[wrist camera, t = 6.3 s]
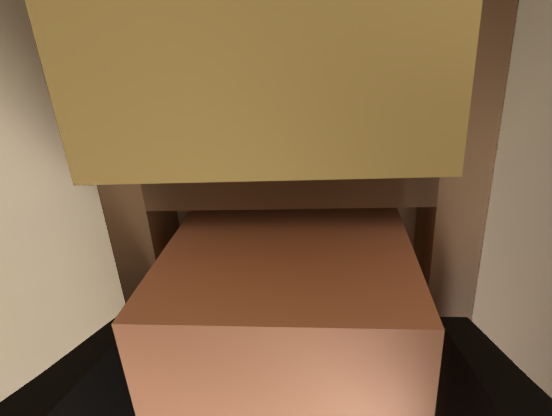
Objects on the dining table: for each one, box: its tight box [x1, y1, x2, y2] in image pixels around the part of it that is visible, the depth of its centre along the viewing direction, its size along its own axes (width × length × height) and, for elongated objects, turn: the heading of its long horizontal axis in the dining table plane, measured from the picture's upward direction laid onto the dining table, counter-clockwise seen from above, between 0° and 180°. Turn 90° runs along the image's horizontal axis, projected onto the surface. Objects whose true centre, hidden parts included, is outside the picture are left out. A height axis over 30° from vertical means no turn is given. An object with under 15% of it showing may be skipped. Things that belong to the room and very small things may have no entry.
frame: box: [97, 0, 519, 320], centre depth 11 cm, size 23×8×3 cm, turn 3°
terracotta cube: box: [111, 208, 445, 416], centre depth 10 cm, size 5×5×5 cm
